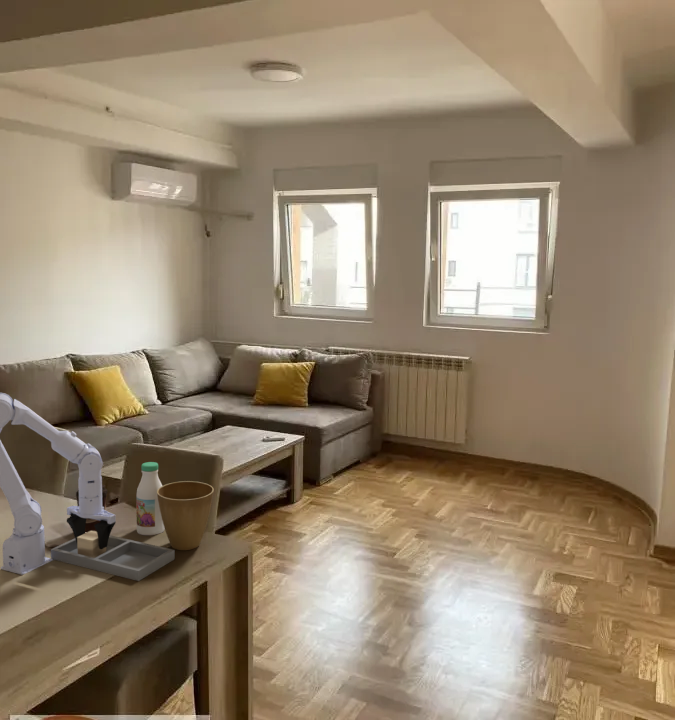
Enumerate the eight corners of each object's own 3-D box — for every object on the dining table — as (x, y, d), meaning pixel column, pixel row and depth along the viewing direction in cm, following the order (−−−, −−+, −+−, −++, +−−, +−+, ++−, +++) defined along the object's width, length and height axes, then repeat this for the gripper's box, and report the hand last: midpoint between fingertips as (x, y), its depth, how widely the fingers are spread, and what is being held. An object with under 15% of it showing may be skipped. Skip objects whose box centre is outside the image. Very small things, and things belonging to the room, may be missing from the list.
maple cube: (92, 559, 179) (92, 540, 179) (77, 555, 181) (77, 537, 181) (106, 552, 184) (105, 533, 183) (91, 548, 186) (91, 530, 185)
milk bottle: (153, 524, 205) (153, 458, 202) (170, 531, 200) (169, 463, 197) (131, 532, 199) (130, 463, 196) (147, 539, 194) (146, 469, 192)
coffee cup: (101, 537, 195) (100, 492, 193) (71, 536, 195) (70, 491, 193) (112, 525, 204) (111, 482, 202) (83, 524, 204) (82, 481, 202)
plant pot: (145, 550, 187) (144, 492, 185) (182, 532, 200) (182, 477, 198) (189, 562, 180) (189, 502, 178) (224, 542, 193) (224, 486, 191)
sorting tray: (138, 582, 168) (138, 571, 168) (51, 560, 179) (50, 549, 179) (174, 560, 181) (174, 549, 180) (90, 541, 192) (90, 530, 191)
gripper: (123, 494, 181) (124, 544, 183) (80, 486, 187) (81, 534, 189) (104, 502, 175) (105, 554, 177) (60, 493, 181) (61, 544, 182)
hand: (91, 545), depth 182 cm, fingers open, 7 cm apart
